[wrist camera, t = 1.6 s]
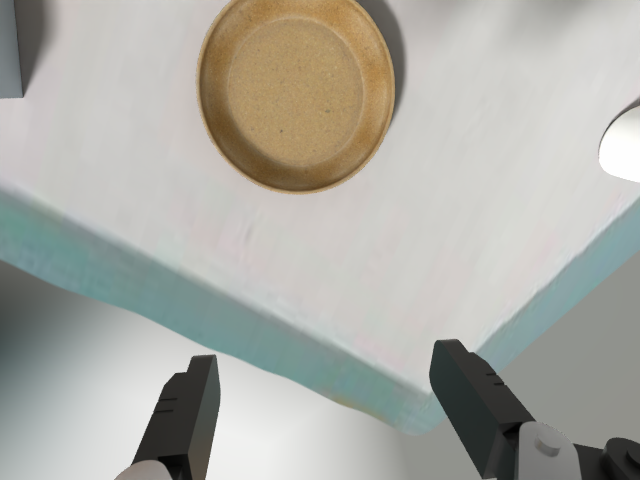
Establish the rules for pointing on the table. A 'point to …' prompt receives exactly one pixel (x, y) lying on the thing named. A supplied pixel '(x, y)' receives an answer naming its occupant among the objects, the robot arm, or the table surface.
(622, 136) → the can
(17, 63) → the grey hollow block
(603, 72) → the table surface
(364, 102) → the plant saucer
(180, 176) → the table surface
